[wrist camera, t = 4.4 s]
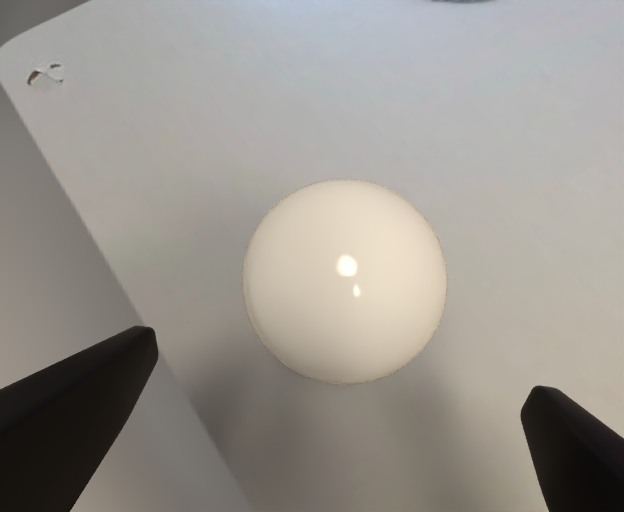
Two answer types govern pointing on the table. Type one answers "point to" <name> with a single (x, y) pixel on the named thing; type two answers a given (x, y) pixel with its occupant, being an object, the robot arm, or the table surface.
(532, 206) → the table surface
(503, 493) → the table surface
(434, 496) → the table surface
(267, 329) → the lightbulb
